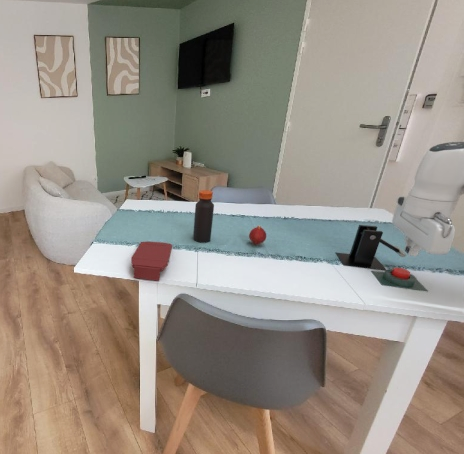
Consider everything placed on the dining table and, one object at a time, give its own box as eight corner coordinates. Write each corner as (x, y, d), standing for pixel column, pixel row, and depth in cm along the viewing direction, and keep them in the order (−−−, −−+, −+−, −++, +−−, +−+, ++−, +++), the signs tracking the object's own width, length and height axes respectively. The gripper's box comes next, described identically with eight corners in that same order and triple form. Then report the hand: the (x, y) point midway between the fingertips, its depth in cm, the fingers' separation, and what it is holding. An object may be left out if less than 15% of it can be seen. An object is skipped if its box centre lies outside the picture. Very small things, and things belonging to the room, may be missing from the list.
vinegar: (191, 236, 122) (194, 189, 114) (207, 235, 121) (212, 189, 113) (195, 243, 115) (199, 194, 107) (212, 242, 115) (217, 194, 107)
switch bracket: (374, 259, 97) (386, 224, 92) (386, 273, 90) (400, 236, 85) (334, 255, 101) (344, 221, 96) (342, 268, 94) (354, 232, 89)
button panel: (411, 279, 87) (415, 270, 85) (426, 294, 80) (431, 285, 79) (369, 273, 90) (372, 265, 89) (380, 288, 83) (384, 279, 82)
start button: (404, 273, 85) (406, 268, 84) (411, 280, 82) (413, 275, 81) (388, 271, 86) (390, 266, 85) (394, 278, 83) (396, 273, 82)
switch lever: (393, 251, 93) (400, 246, 92) (401, 259, 89) (409, 253, 87) (358, 230, 94) (365, 225, 93) (364, 237, 90) (371, 231, 89)
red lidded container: (141, 252, 118) (127, 276, 95) (141, 240, 117) (128, 262, 94) (171, 255, 114) (165, 281, 91) (172, 243, 113) (166, 267, 90)
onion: (249, 240, 115) (252, 221, 112) (265, 243, 112) (269, 224, 109) (246, 245, 111) (249, 226, 108) (263, 249, 108) (266, 229, 105)
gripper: (473, 222, 66) (448, 274, 71) (423, 196, 83) (406, 239, 88) (435, 220, 68) (414, 270, 73) (394, 195, 85) (380, 237, 91)
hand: (410, 253), depth 81 cm, fingers closed
